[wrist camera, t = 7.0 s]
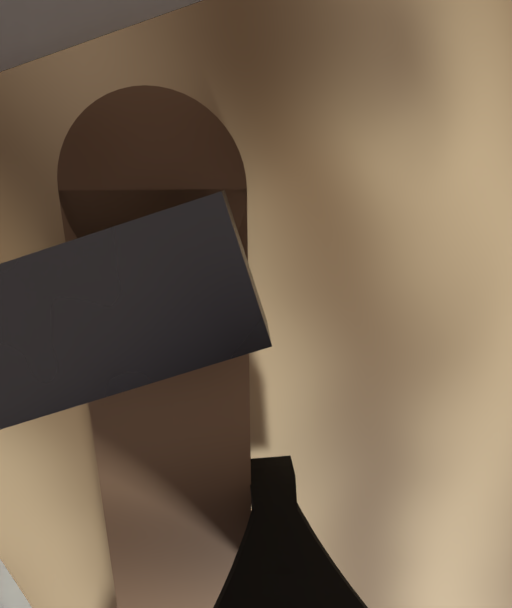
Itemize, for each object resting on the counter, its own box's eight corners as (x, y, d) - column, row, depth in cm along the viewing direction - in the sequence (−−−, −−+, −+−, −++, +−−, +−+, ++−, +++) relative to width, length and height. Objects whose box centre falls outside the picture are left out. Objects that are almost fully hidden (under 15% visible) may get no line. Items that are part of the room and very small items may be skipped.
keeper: (-72, 368, 11) (-364, 540, 6) (-113, 300, 10) (-482, 420, 5) (255, 264, 10) (271, 346, 5) (231, 187, 10) (221, 191, 5)
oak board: (138, 724, 15) (132, 760, 14) (-207, 165, 9) (-259, 163, 8) (697, 578, 14) (730, 606, 13) (708, -156, 8) (769, -200, 7)
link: (267, 712, 14) (276, 873, 10) (147, 719, 13) (119, 884, 10) (268, 111, 8) (285, 66, 5) (71, 112, 8) (-35, 66, 5)
